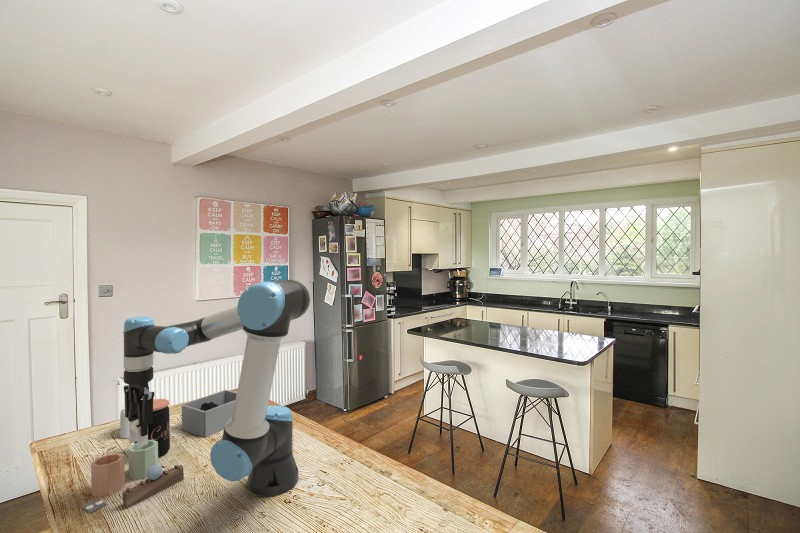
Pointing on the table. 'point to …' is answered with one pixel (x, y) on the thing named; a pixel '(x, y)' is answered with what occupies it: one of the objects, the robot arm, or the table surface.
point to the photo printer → (124, 424)
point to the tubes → (119, 471)
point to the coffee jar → (160, 426)
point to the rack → (152, 486)
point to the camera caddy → (208, 413)
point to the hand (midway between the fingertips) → (138, 443)
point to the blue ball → (154, 472)
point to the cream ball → (134, 426)
